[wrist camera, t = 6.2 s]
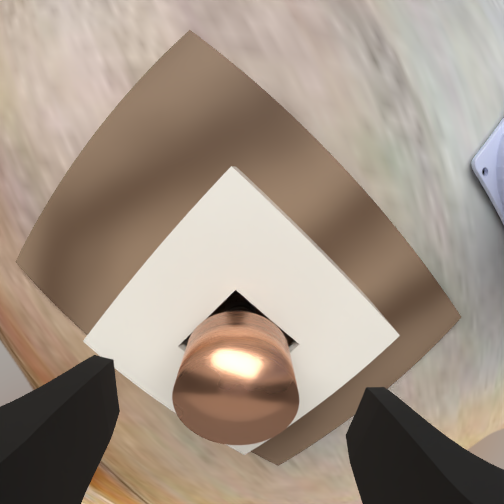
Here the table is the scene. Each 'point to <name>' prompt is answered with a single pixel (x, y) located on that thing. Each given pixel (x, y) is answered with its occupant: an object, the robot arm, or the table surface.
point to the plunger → (236, 378)
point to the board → (197, 185)
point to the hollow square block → (249, 286)
